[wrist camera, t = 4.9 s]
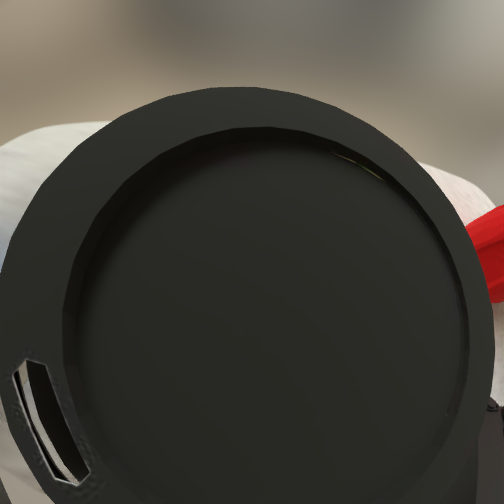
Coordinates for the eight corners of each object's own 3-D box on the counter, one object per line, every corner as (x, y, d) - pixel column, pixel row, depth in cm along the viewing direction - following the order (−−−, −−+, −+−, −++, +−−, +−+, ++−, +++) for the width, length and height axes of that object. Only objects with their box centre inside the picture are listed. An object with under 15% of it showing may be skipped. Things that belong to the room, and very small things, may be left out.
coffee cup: (303, 397, 18) (532, 405, 4) (158, 458, 14) (157, 655, 1) (244, 259, 20) (377, 72, 7) (98, 305, 17) (-43, 136, 3)
